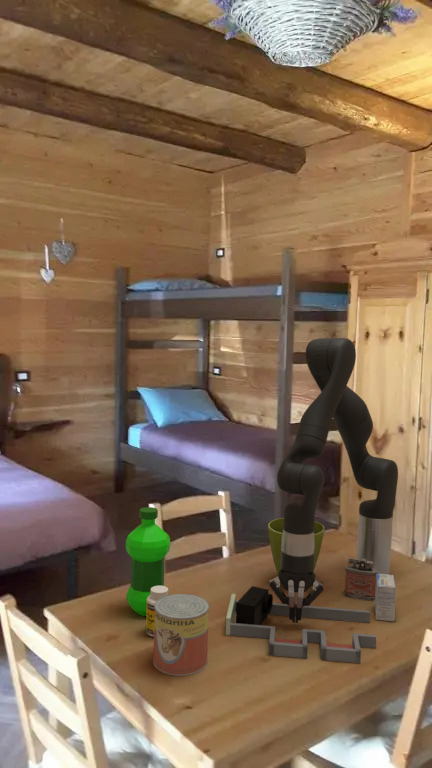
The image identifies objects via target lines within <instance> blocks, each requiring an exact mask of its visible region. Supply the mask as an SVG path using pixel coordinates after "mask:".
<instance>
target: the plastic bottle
mask: <svg viewBox="0 0 432 768" xmlns="http://www.w3.org/2000/svg"><path fill="white" fill-rule="evenodd" d="M158 515H159V510H158V509H157V508H156V507H152V506H150V507H147V506H145V507H141V508H140V509H139V515H138V517H139V519H141V524H139V525H138V526H137V527H136V528H134V529H132V531H131V532H130V533H129V534H128V535H127V537H126V539H125V550H126V553H127V554H128V555H129V556H130V586H129V587H128V589H127V591H126V601H127V603H128V605H129V606H130V607H131V609H132V610H133V611H134V612H135V613H137V615H139V616H143V617H145V616H146V612H147V598H148V596H149V595H150V592H151V588H152V587H154V586H165V557H166V556H167V555H168V553H169V552H170V550H171V549H170V548H171V539H170V536H169V534H168V533H167V532H166V531H164V529H162V528H161V526H159V525H158V524H157V523H156V520H157V518H158V517H159V516H158Z"/></svg>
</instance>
